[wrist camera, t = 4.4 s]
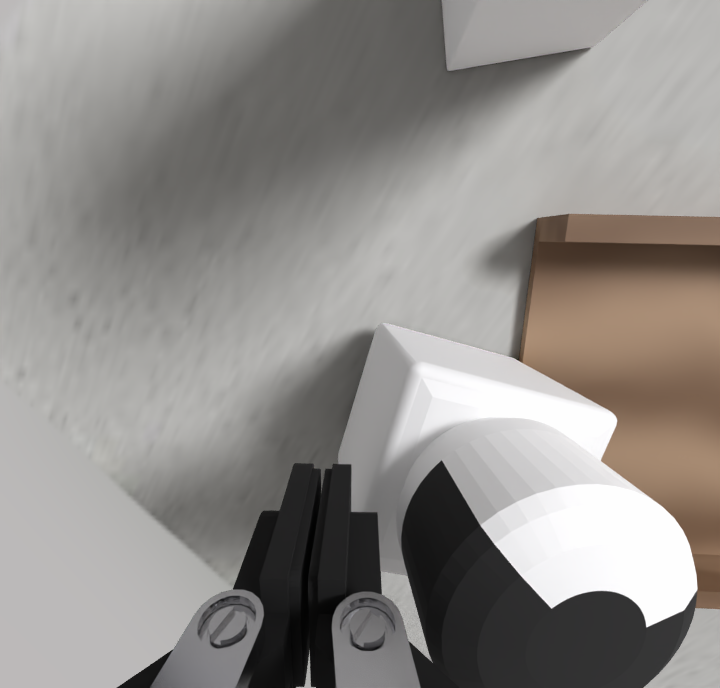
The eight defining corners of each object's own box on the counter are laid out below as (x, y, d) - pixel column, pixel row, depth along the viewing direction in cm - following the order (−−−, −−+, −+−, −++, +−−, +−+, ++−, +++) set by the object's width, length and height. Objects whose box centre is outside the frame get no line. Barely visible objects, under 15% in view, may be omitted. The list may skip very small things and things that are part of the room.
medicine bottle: (467, 485, 21) (660, 789, 9) (335, 457, 19) (361, 763, 8) (515, 357, 19) (818, 520, 8) (377, 319, 18) (482, 443, 6)
